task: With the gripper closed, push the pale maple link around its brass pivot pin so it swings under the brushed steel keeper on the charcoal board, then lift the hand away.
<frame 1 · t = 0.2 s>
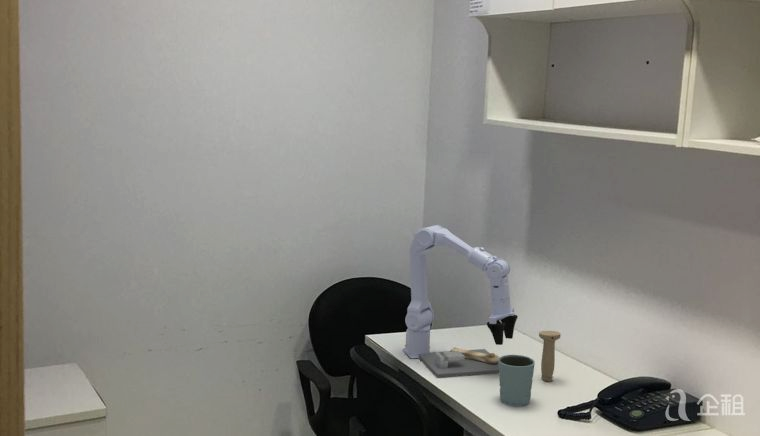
hand: (504, 341, 235), 10 cm above the table, tool pointing down, fingers open, 7 cm apart
teal cup: (514, 401, 215), on the table
link: (475, 354, 245), point 3 cm above the table, hinge at -45.0°
keeper: (441, 369, 238), resting on board
handle: (546, 380, 232), on the table
board: (462, 364, 243), on the table
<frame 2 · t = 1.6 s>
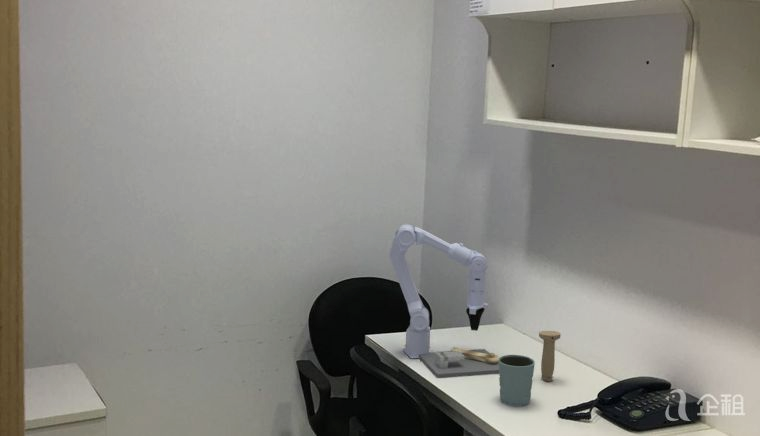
hand: (474, 329, 250), 9 cm above the table, tool pointing down, fingers closed
nothing on the table moved.
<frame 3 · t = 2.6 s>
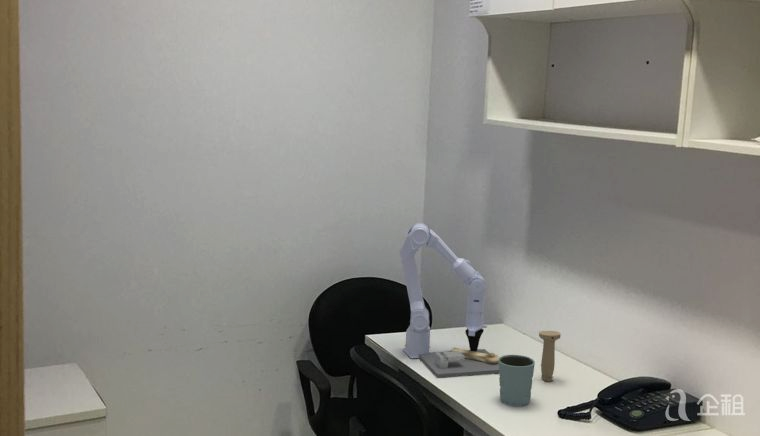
hand: (473, 350, 251), 2 cm above the table, tool pointing down, fingers closed
nothing on the table moved.
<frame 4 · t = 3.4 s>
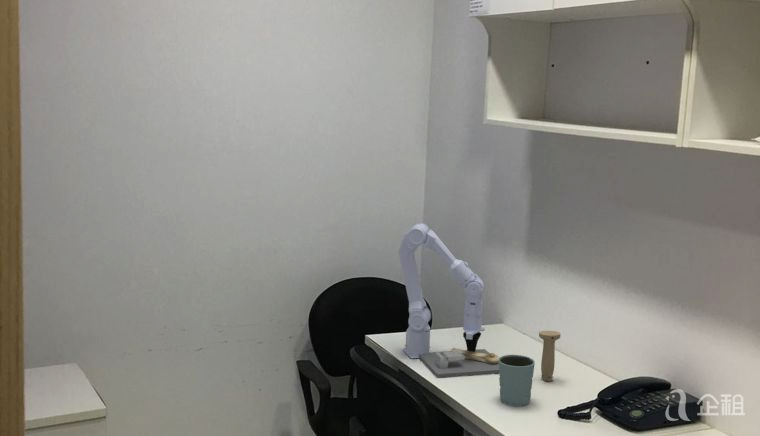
hand: (471, 354, 248), 2 cm above the table, tool pointing down, fingers closed, pressing on link
link: (474, 354, 245), point 3 cm above the table, hinge at -41.9°, touching gripper
everything else where it was.
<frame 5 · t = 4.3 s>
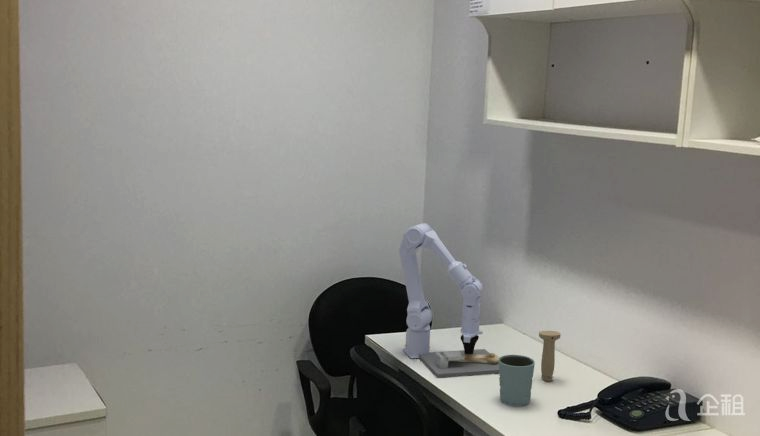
hand: (468, 357, 245), 2 cm above the table, tool pointing down, fingers closed, pressing on link
link: (473, 356, 243), point 3 cm above the table, hinge at -17.4°, touching gripper
everything else where it was.
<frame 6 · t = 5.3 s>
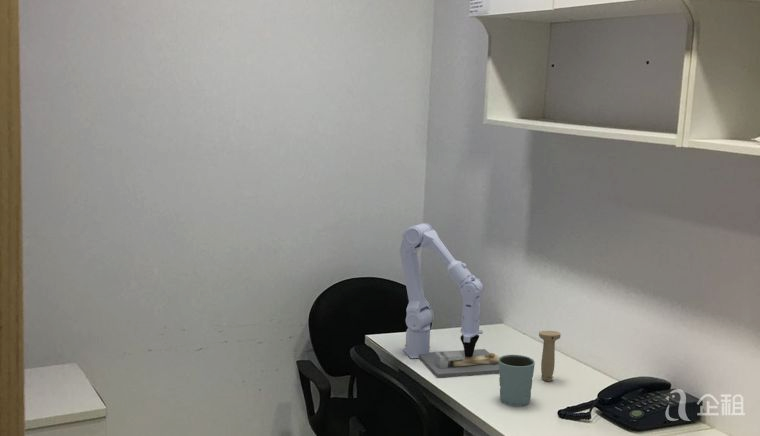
hand: (468, 357, 243), 2 cm above the table, tool pointing down, fingers closed
link: (475, 359, 241), point 3 cm above the table, hinge at 3.3°, touching gripper
everything else where it was.
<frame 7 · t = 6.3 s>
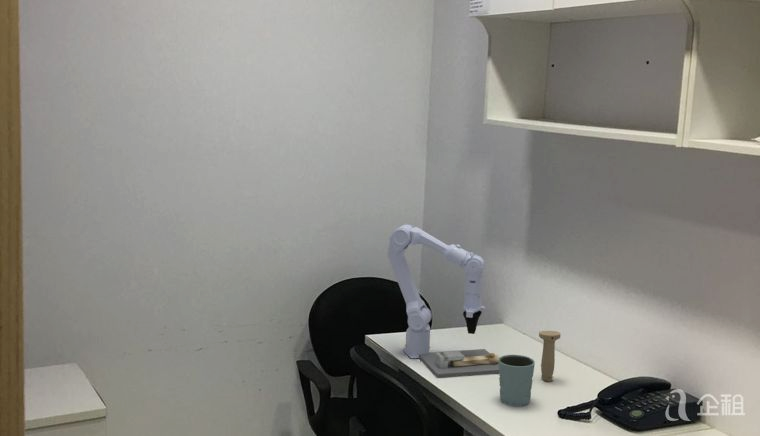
hand: (471, 333, 246), 9 cm above the table, tool pointing down, fingers closed
link: (475, 359, 241), point 3 cm above the table, hinge at 3.3°
everything else where it was.
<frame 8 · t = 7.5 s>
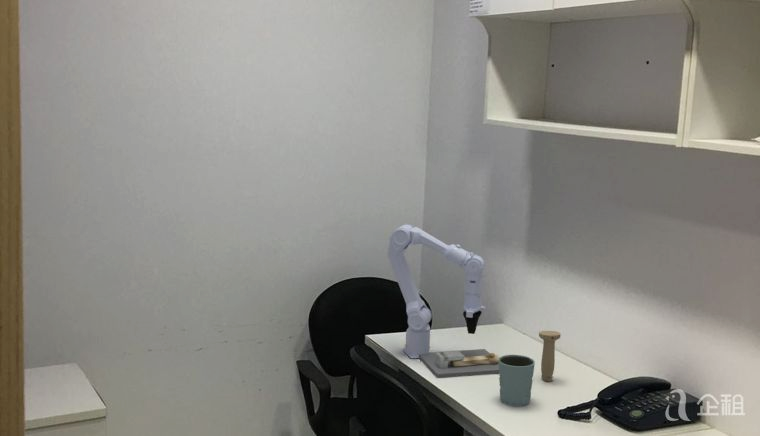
hand: (471, 333, 246), 9 cm above the table, tool pointing down, fingers closed
nothing on the table moved.
at the end: link at +3° (first picture: -45°) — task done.
